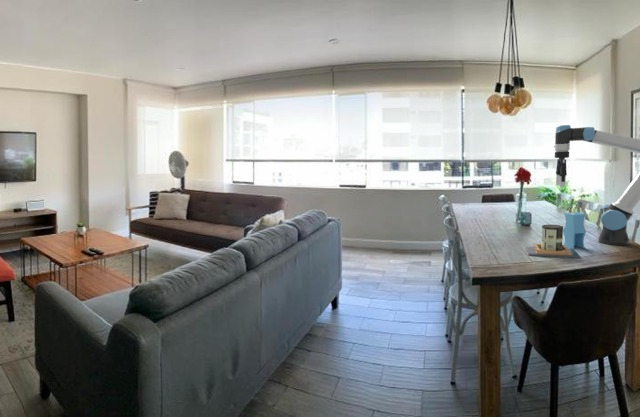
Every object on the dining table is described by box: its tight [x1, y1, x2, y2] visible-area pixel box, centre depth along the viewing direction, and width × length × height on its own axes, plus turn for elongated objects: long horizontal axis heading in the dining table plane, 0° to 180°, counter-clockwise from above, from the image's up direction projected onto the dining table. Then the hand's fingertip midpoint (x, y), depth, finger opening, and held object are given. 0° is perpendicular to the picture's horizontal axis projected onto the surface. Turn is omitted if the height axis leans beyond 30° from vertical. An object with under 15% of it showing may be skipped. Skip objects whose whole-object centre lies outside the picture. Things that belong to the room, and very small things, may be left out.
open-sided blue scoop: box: [563, 211, 587, 250], centre depth 232 cm, size 8×8×20 cm
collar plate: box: [525, 243, 581, 259], centre depth 221 cm, size 24×17×3 cm
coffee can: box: [541, 224, 564, 251], centre depth 220 cm, size 10×10×14 cm
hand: (560, 186), depth 243 cm, fingers open, 13 cm apart
